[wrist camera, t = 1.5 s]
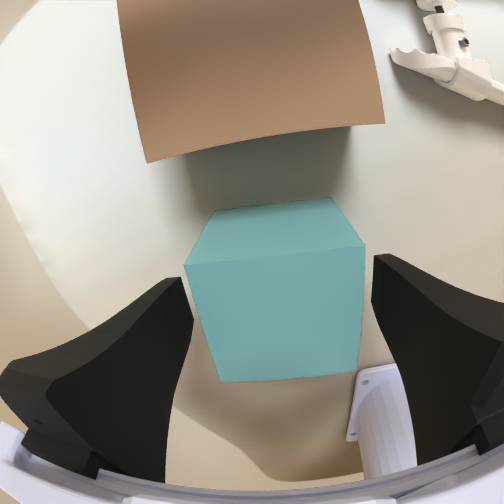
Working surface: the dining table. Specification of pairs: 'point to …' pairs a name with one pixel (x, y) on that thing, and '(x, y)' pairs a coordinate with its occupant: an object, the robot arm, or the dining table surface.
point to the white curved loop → (450, 56)
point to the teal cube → (279, 290)
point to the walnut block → (245, 70)
